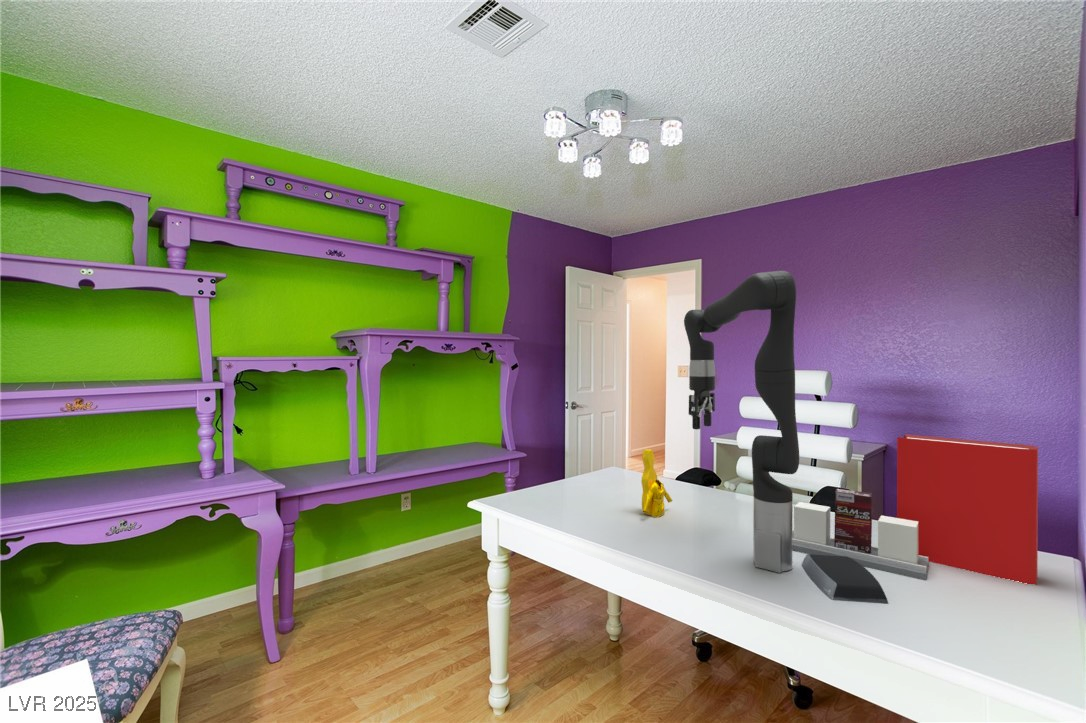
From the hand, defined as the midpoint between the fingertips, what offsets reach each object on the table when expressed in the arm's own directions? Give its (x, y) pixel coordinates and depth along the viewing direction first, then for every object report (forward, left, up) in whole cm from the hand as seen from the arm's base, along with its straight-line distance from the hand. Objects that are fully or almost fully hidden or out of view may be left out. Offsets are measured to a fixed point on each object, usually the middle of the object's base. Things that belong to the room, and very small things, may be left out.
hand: (702, 427), depth 156 cm
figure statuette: (+7, +20, -33) cm, 39 cm away
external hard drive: (-12, -40, -33) cm, 53 cm away
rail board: (+8, -39, -32) cm, 51 cm away
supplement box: (+8, -39, -31) cm, 50 cm away
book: (+20, -62, -33) cm, 73 cm away
